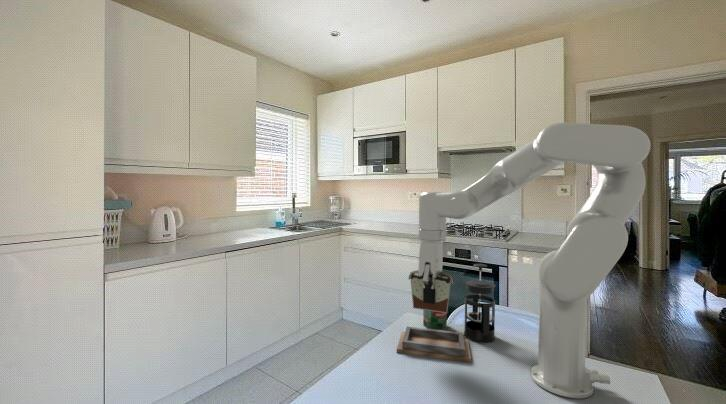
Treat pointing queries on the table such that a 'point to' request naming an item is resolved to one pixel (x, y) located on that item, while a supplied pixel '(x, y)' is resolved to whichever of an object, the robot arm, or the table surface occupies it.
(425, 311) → the canned tomato
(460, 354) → the wooden tray
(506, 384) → the table surface
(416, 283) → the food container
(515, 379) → the table surface
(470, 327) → the french press
